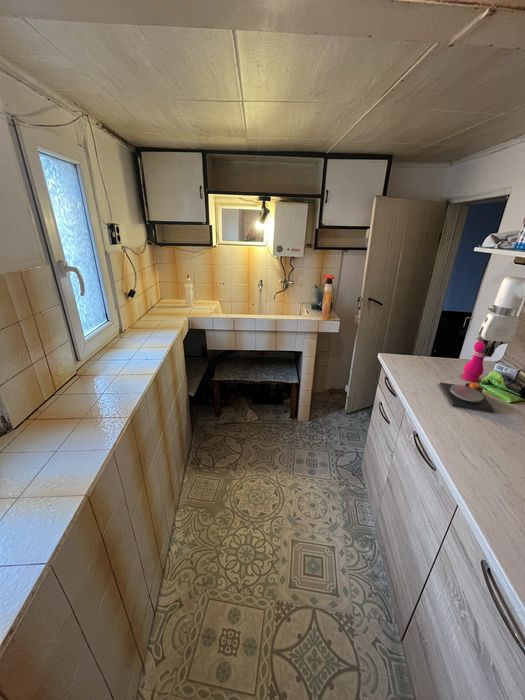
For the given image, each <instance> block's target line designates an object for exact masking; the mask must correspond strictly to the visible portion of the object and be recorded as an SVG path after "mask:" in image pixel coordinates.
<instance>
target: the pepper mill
mask: <svg viewBox="0 0 525 700" xmlns="http://www.w3.org/2000/svg"><path fill="white" fill-rule="evenodd" d="M484 347H485V344H484V343H483V342H481V341H478V340H477V341H476V342H475V343H474V345H473V352H472V354H473V356H472V357H471V359H470V360H469V361H468V362H467V363H466V364H465V365H464V367H463V372H462V375H461V377H462V378H463V379H464V380H466V381H468V382H470V383H471V382H474V383H477V382H479V380H480V376H482V375H483V374H484V364H483V363H484V359H485V358H487V357H486V356H485V355H484V354H483V350H484Z"/></svg>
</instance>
